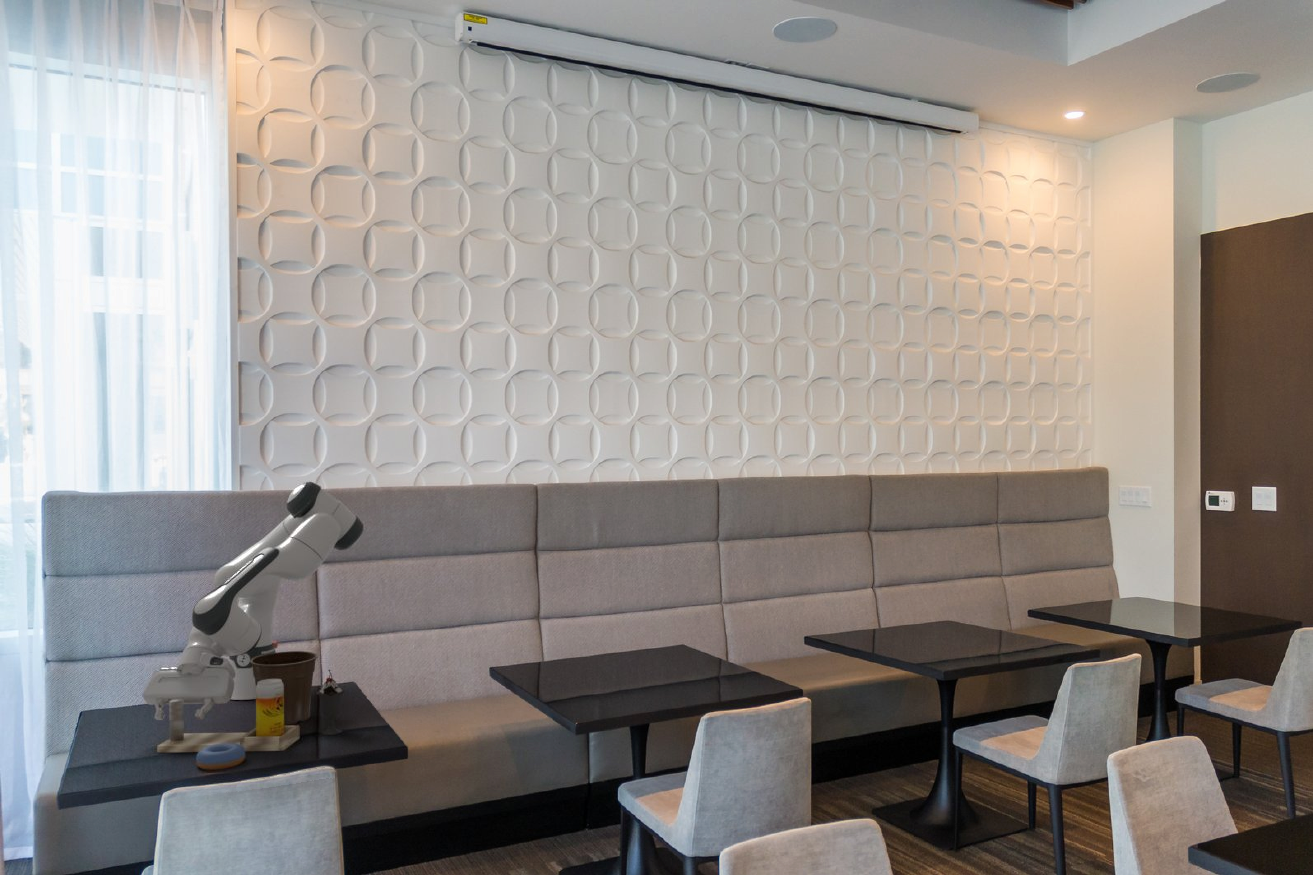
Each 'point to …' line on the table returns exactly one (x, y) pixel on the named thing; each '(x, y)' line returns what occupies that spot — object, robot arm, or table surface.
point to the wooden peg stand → (219, 736)
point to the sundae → (331, 703)
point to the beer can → (269, 708)
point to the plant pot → (289, 680)
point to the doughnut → (220, 756)
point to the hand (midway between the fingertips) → (178, 718)
